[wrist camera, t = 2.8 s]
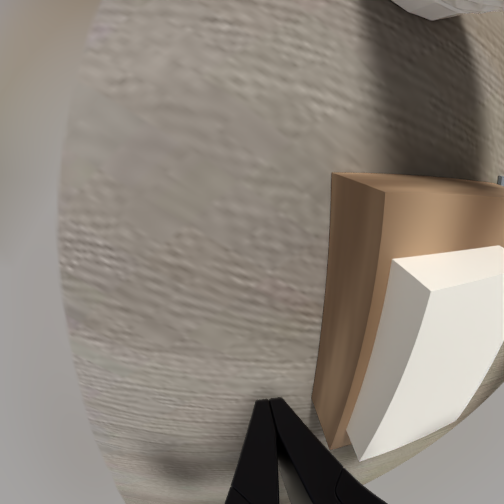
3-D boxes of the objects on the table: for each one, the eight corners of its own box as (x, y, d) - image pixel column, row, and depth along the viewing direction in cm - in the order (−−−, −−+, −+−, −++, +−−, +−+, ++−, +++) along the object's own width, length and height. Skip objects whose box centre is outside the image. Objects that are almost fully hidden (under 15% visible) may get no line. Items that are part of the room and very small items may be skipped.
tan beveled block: (493, 183, 12) (544, 201, 8) (446, 359, 17) (474, 392, 13) (331, 172, 11) (385, 192, 7) (311, 398, 16) (329, 450, 12)
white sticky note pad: (498, 245, 8) (532, 264, 7) (439, 396, 12) (456, 419, 10) (391, 259, 8) (430, 291, 6) (346, 429, 11) (359, 461, 9)
